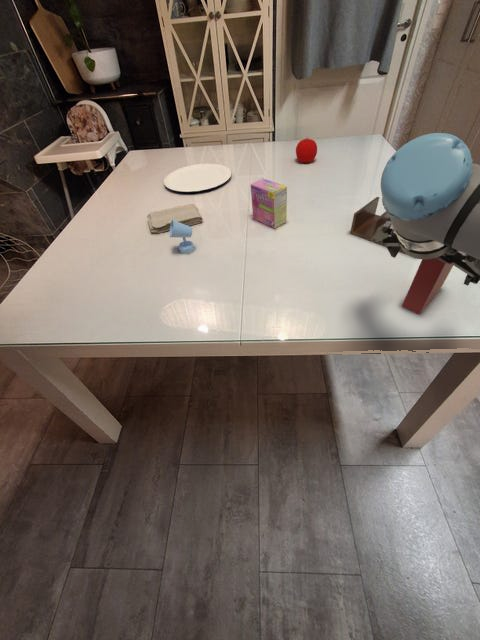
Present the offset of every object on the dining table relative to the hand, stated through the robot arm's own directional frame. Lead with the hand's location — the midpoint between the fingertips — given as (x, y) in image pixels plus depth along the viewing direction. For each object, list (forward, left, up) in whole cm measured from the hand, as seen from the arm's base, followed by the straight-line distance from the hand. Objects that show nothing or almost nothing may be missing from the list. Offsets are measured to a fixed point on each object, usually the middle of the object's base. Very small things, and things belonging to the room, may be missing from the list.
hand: (431, 263), depth 58 cm
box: (+39, +36, -13) cm, 55 cm away
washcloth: (+38, +69, -13) cm, 80 cm away
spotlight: (+21, +60, -13) cm, 65 cm away
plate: (+73, +70, -13) cm, 102 cm away
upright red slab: (+4, -3, -13) cm, 14 cm away
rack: (+31, -1, -13) cm, 34 cm away
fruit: (+91, +25, -13) cm, 96 cm away
